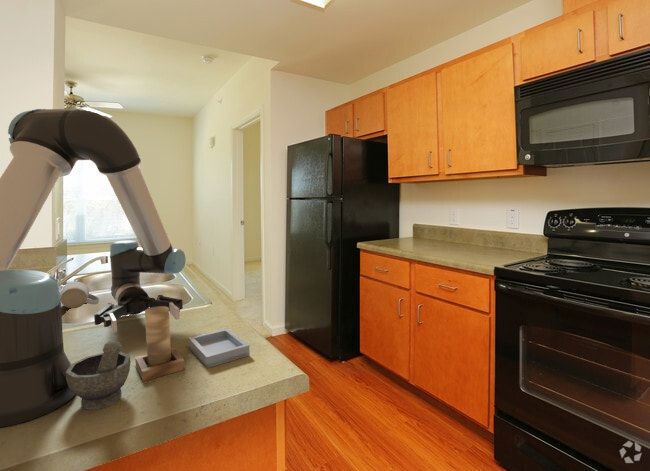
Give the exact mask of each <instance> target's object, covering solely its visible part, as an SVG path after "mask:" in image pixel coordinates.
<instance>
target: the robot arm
mask: <svg viewBox="0 0 650 471" xmlns="http://www.w3.org/2000/svg"><path fill="white" fill-rule="evenodd" d="M7 134H8V135H9V136H10V137H9V138H8V141H9V143H10V145H9V151H10V153H11V155H12V156H13V158H12V159H11V160H10V162H9V163H8V165H7V167H6V168H5V169H4V171H3V173H2V174H1V176H0V428H2V427H3V428H4V427H9V426H13V425H17V424H21V423H25V422H29V421H31V420H34V419H37V418H40V417H42V416H45V415H46V414H49V413H51V412H53V411H55V410H56V409H59V408H60V407H62V406H64V405H65V404H67V403H68V402H69V401H70V400H72V399H73V398H74V397H75V395H76V394H74V393H73V392H72V391H71V389H70V388H69V387H68V384H67V380H66V371H67V370H68V368H69V367H70V365H71V364H72V363H71V361H70V360H69V358H68V356H67V354H66V351H65V350H64V335H63V334H64V333H63V318H62V302H61V292H60V290H59V285H58V280H57V279H56V278H55V277H54V276H53V275H52V274H50V273H47V272H44V271H39V270H33V269H32V270H29V269H20V270H19V269H18V270H15V269H10V266H11V265H12V263H13V261H14V259H15V258H16V256H17V254H18V252H19V250H20V248H21V247H22V245H23V243H24V241H25V239H26V237H27V236H28V234H29V232H30V230H31V229H32V226H33V224H34V223H35V221H36V219H37V218H38V216H39V214H40V212H41V210H42V208H43V206H44V205H45V203H46V201H47V199H48V197H49V196H50V194H51V192H52V190H53V189H54V187H55V185H56V183H57V182H58V179H59V177H60V178H61V177H66V176H68V175H69V174H70V173H71V172H72V170H73V169H74V167H75V165H76V163H77V162H78V161H91V162H92V163H93V164H94V165H95V166H96V168H97V170H98V172H99V174H102V175H105V176H106V178H107V180H108V182H109V184H110V186H111V188H112V190H113V192H114V194H115V196H116V198H117V200H118V202H119V204H120V206H121V208H122V210H123V213H124V214H125V217H126V218H127V220H128V223H129V224H130V226H131V229H132V230H133V232H134V235H135V237H136V239H137V241H138V242H137V241H136V240H117V241H114V242H111V244H110V246H109V250H110V253H109V254H110V255H109V259H110V272H111V287H110V291H111V292H110V293H111V296H112V298H113V299H114V300H115V302H116V304H114V303H113V302H107V303H105V306H104V307H103V308H101V309H100V310H98V311H97V312H95V313H94V314H93V316H94V317H93V319H94V326H98V325H99V326H100V325H101V324H102V323H103V327H104V328H109V327H110V328H111V330H112V332H113V334H114V333H117V332H118V325H117V324H118V322H117V320H118V319H119V318H121V317H124V316H125V317H126V316H136V315H139V314H141V313H143V312H145V310H146V309H148V308H152V307H157V306H166V307H168V308H169V315H171V316H172V317H173V318H174V319H175V320H180V312H181V310H183V309H184V308H183V304H184V303H183V299H179V298H175V297H169V296H164V295H163V294H159V295H157V297H156V298H154V297H150V296H149V294H148V293H147V292H146V290H144V288H143V287H142V286H141V277H140V276H141V274H144V273H145V274H163V275H171V274H174V275H175V274H179V273H181V272H182V271H183V269H184V268H185V266H186V262H187V261H186V259H187V258H186V254H185V252H184V251H183V250H182V249H180V248H176V247H174V248H173V246H172V243H171V241H170V239H169V237H168V233H167V232H166V229H165V227H164V224H163V223H162V219H161V218H160V215H159V213H158V210H157V207H156V205H155V202H154V201H153V198H152V196H151V193H150V191H149V188H148V186H147V184H146V181H145V179H144V178H145V177H144V176H143V174H142V172H141V169H140V164H141V162H142V159H141V158H140V155H139V153H138V150H137V148H136V147H135V145H134V143H133V141H132V140H131V139H130V137H129V136H128V135H127V133H126V132H125V131H124V130H123V129H122V128H121V127H120V125H119V124H117V123H116V122H115V121H114V120H112V119H111V118H110V117H108V116H107V115H105V114H104V113H102V112H100V111H99V110H98V111H97V110H94V109H91V108H84V107H83V108H82V107H79V108H78V107H77V108H51V109H49V108H47V109H46V108H35V109H32V110H26V111H23V112H20V113H19V114H17V115H16V116H14V117H13V119H12V120H11V121H10V123H9V126H8V130H7ZM139 245H140V247H139ZM140 273H141V274H140Z"/></svg>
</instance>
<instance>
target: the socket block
mask: <svg viewBox="0 0 650 471" xmlns="http://www.w3.org/2000/svg"><path fill="white" fill-rule="evenodd" d="M134 359H135V368H136V369H137V372H138V374H139V376H140V378H141V380H142V382H145V381H149V380H153V379H155V378H159V377H163V376H166V375H170V374H173V373H177V372H180V371H183V370H185V369H186V368H185V367H186V366H185V360H184V358H183V357H182V356H181V354H180V353H179V351H178V350H177V349H176V348H175V347H171V362H167V363H164V364H160V365H156V366H153V367H149V368H148V358H147V353H146V354H143V355H138V356H135V357H134Z"/></svg>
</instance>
